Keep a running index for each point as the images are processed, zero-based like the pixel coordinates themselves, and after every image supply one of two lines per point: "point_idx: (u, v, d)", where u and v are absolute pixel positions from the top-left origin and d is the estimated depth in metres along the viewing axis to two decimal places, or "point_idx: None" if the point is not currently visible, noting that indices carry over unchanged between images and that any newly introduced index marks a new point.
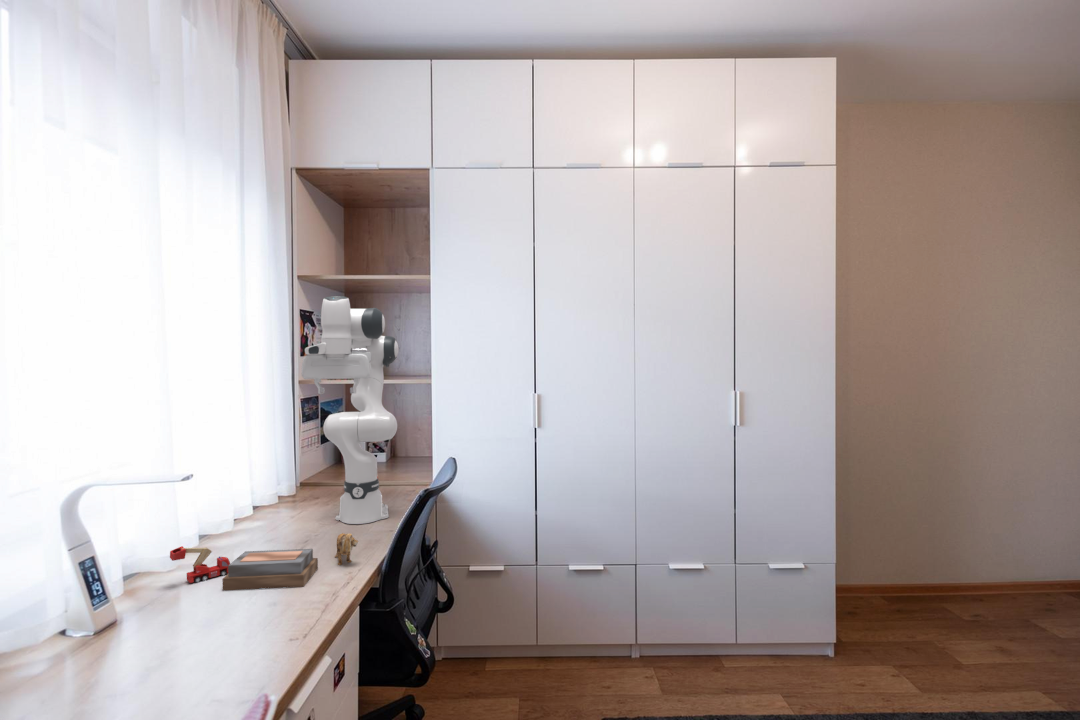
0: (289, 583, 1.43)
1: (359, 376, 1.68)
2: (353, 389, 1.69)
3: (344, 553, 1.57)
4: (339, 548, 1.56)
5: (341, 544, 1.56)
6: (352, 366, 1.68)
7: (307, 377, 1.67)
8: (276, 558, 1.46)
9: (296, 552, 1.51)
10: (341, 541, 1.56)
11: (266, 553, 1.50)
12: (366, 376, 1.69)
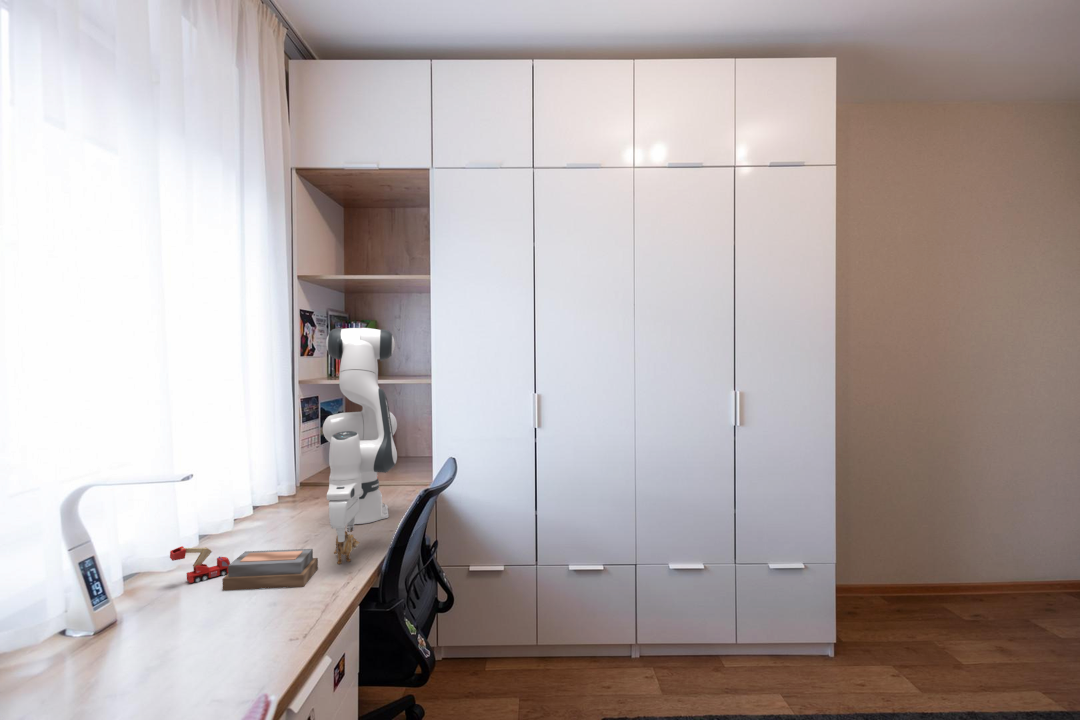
0: (289, 583, 1.43)
1: (357, 511, 1.67)
2: (353, 526, 1.65)
3: (345, 553, 1.57)
4: (340, 548, 1.56)
5: (342, 545, 1.56)
6: (356, 503, 1.65)
7: (345, 525, 1.52)
8: (276, 558, 1.46)
9: (296, 552, 1.51)
10: (342, 542, 1.56)
11: (266, 553, 1.50)
12: (358, 510, 1.69)
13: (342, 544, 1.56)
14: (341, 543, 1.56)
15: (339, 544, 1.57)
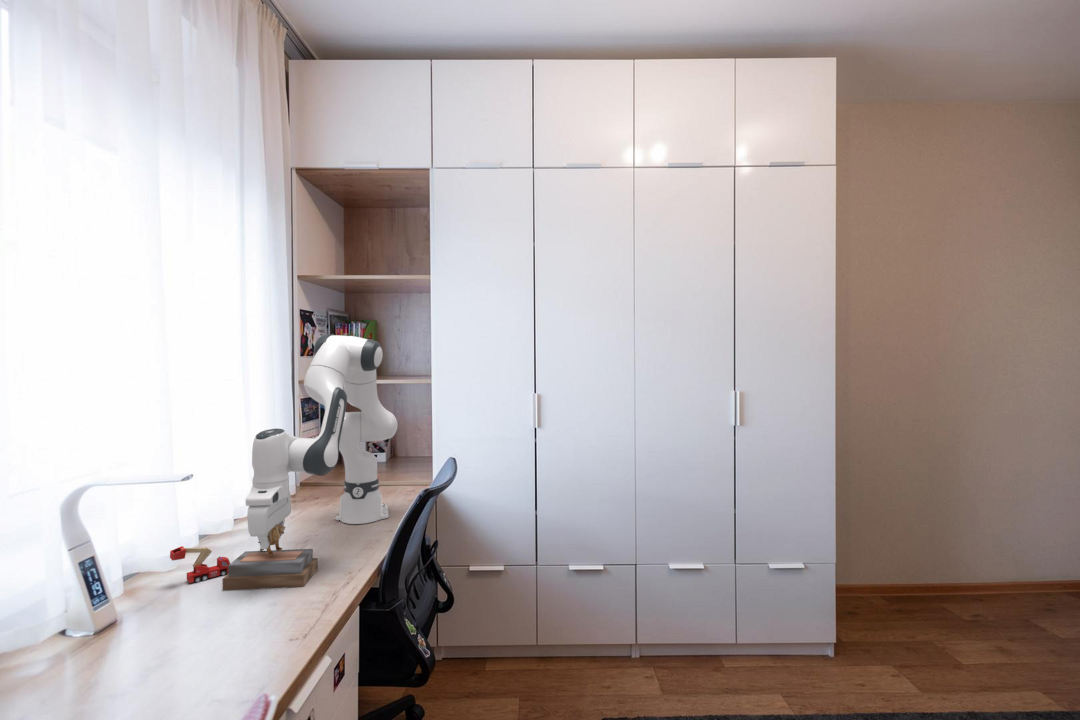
0: (289, 583, 1.43)
1: (288, 514, 1.55)
2: None
3: (273, 543, 1.46)
4: None
5: (268, 535, 1.45)
6: (285, 505, 1.53)
7: (266, 532, 1.40)
8: (276, 558, 1.46)
9: (296, 552, 1.51)
10: None
11: (266, 553, 1.50)
12: (290, 512, 1.57)
13: None
14: None
15: None
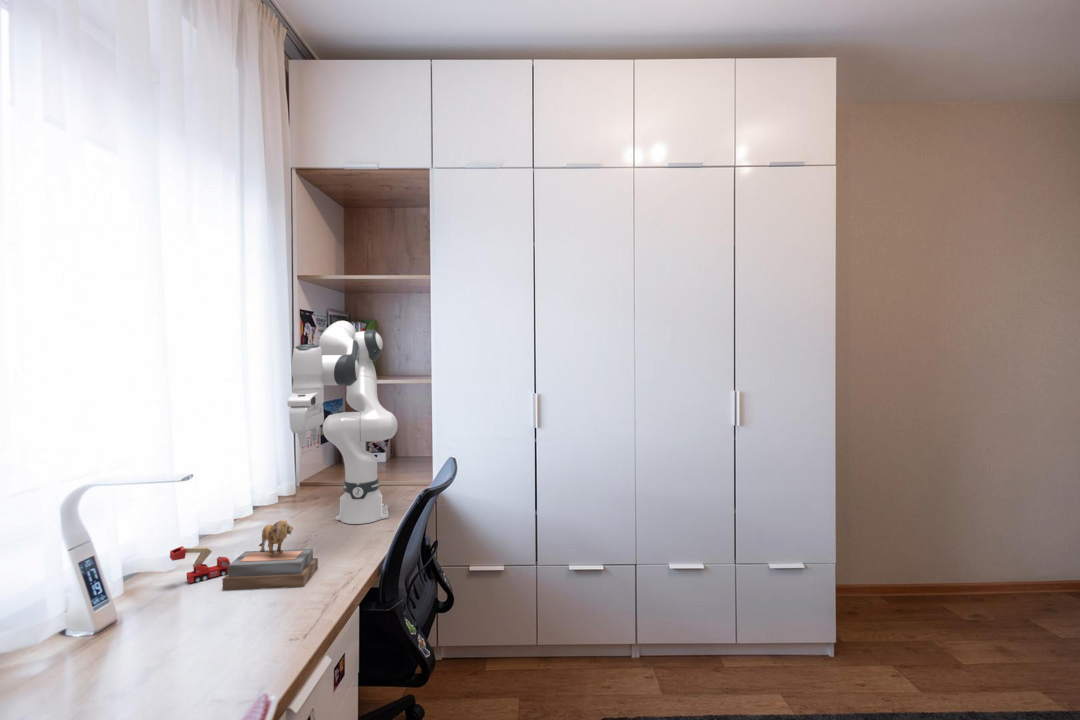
0: (289, 583, 1.43)
1: (321, 423, 1.74)
2: (316, 436, 1.72)
3: (278, 541, 1.48)
4: (273, 536, 1.47)
5: (276, 531, 1.47)
6: (319, 414, 1.72)
7: (305, 430, 1.59)
8: (276, 558, 1.46)
9: (296, 552, 1.51)
10: (275, 528, 1.47)
11: (266, 553, 1.50)
12: None
13: (275, 530, 1.47)
14: (274, 530, 1.47)
15: (271, 532, 1.47)
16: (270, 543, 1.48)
